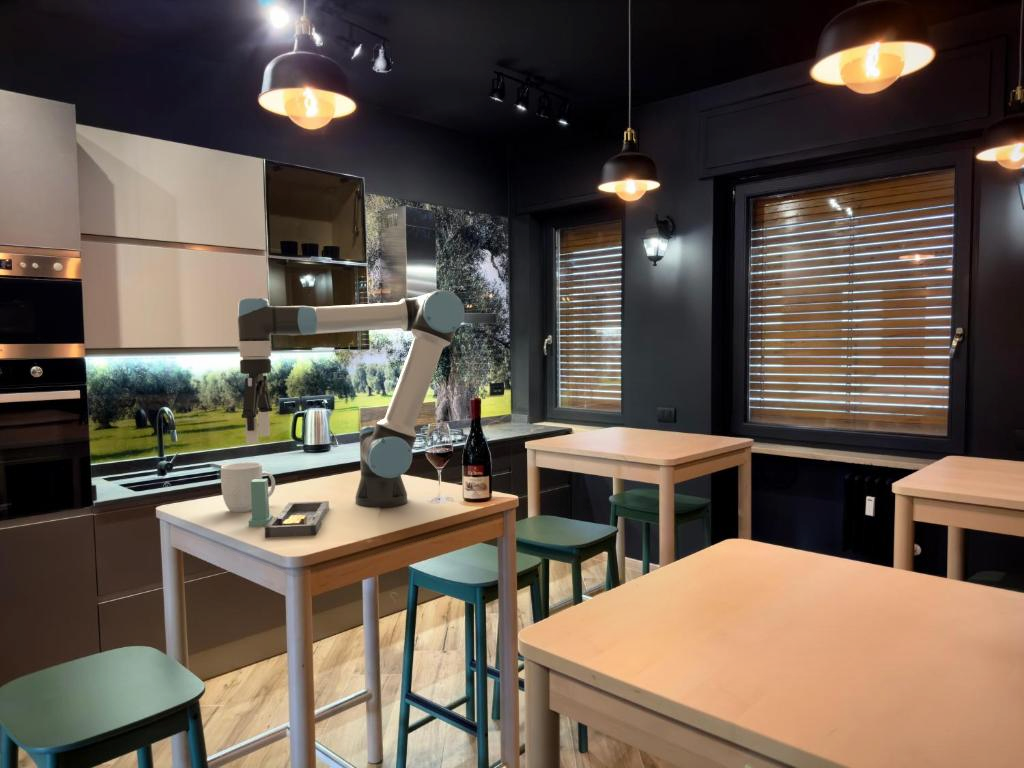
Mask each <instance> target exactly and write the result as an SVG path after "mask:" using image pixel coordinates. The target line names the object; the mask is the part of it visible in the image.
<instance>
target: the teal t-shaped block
mask: <svg viewBox="0 0 1024 768" xmlns="http://www.w3.org/2000/svg"><path fill="white" fill-rule="evenodd" d="M268 493H269V478H262V479H254V480H253V481H251V501H252V510H251V517H250V518H249V520H248V527H249V528H250V527H266V526H267V524H268V523H269V522H270V521H271V520H272V518H273V517H274V514H270V506H269V505H270V504H269V502H270V501H269V499H270V497H268Z"/></svg>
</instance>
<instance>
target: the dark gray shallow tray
mask: <svg viewBox="0 0 1024 768" xmlns="http://www.w3.org/2000/svg"><path fill="white" fill-rule="evenodd" d="M329 504H330V503H329V500H322V501H318V500H317V501H301V502H300V501H299V502H298V501H297V502H288V503H287V505H286V506H285V507H284V508H283V510H281V512H280V513H279V514H278V516H277V517H278V521H279V526H282V523H283V522H284V521H285V519H288V518H289V517H290V516H291V515H307V524H312V522H313V520H314V519H315V517H316V515H321V520H322V521H323V520H324V517H325V516H326V514H327V513H328V510H329V509H330V505H329Z"/></svg>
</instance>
